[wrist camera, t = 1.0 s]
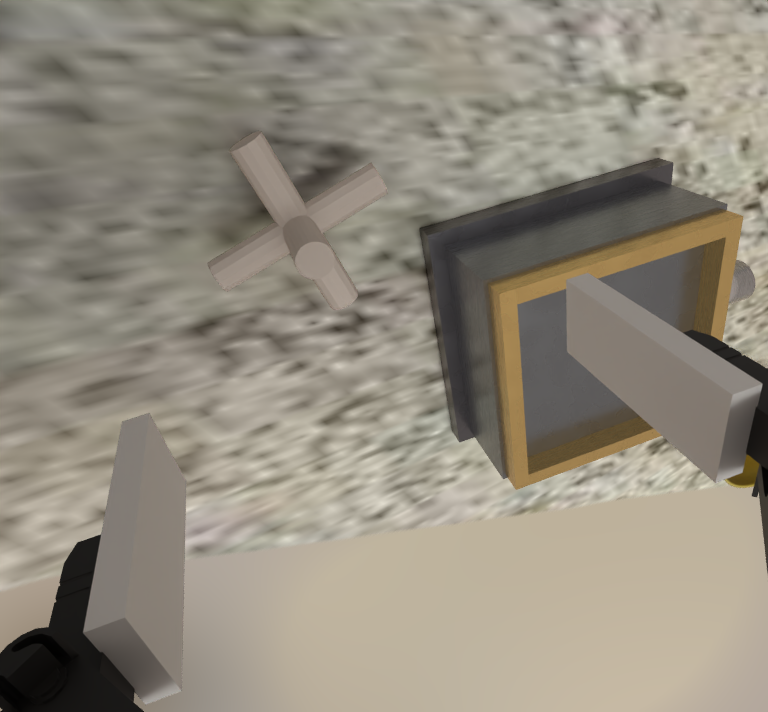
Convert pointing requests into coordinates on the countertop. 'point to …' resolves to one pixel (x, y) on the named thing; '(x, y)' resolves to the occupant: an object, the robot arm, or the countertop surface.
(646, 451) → the countertop surface
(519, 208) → the grey gold-rimmed box
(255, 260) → the pipe connector
